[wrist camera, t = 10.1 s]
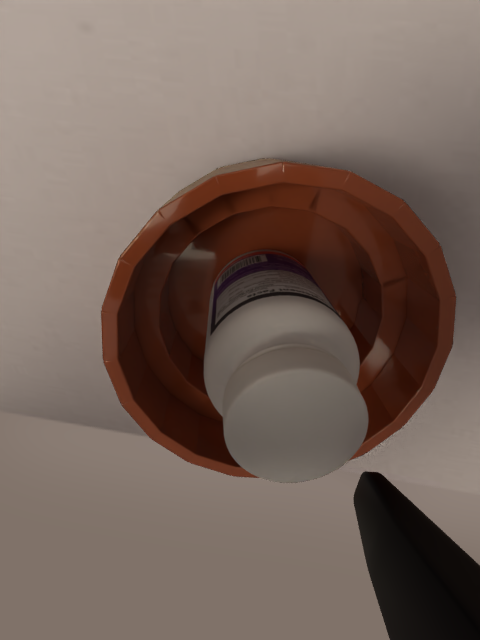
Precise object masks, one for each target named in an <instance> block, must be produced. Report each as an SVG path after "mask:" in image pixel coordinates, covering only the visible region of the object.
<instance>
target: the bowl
mask: <svg viewBox="0 0 480 640" xmlns="http://www.w3.org/2000/svg"><path fill="white" fill-rule="evenodd" d="M255 250H275V251H280V252H283V253H286V254H288V255H290V256H292V257H294V258H295V259H296V260H298V261H299V262H300V263H301V264H302V265H303V266H304V267H305V268H306V269H307V270H308V271H309V273H310V274H311V276H312V277H313V279H314V280H315V282H316V283H317V284H318V286H319V287H320V289H321V290H322V292H323V293H324V294H325V296H326V297H327V299H328V300H329V301H330V303H331V304H332V306H333V307H334V308H335V310H336V311H337V313H338V314H339V315H340V317H341V318H342V320H343V321H344V323H345V324H346V325H347V327H348V329H349V330H350V332H351V334H352V336H353V338H354V340H355V342H356V345H357V348H358V353H359V360H360V369H359V376H358V380H357V384H356V385H357V387H358V389H359V391H360V393H361V395H362V397H363V399H364V401H365V403H366V406H367V411H368V429H367V433H366V436H365V438H364V441H363V443H362V445H361V446H360V448H359V449H358V450H357V452H356V453H355V454H354V455H353V457H352V458H351V459H350V460H352V459H354V458H356V457H359V456H361V455H364V453H367V452H369V451H370V450H371V449H373V448H374V447H375V446H377V445H378V444H380V443H381V442H382V441H384V440H385V439H387V438H388V437H389V436H391V435H392V434H394V433H395V432H396V431H398V430H399V429H401V428H402V426H404V425H405V424H406V423H407V422H408V420H409V419H410V418H411V417H412V415H413V414H414V413H415V412H416V411H417V409H418V408H419V407H420V406H421V405H422V403H423V402H424V401H425V400H426V399H427V397H428V396H429V395H430V394H431V393H432V391H433V389H434V388H435V386H436V384H437V381H438V379H439V376H440V374H441V372H442V369H443V367H444V365H445V362H446V360H447V358H448V355H449V353H450V351H451V348H452V345H453V335H454V321H455V307H456V296H455V295H456V294H455V290H454V287H453V284H452V281H451V277H450V274H449V271H448V268H447V264H446V261H445V258H444V255H443V251H442V248H441V246H440V244H439V242H438V241H437V240H436V239H435V237H434V236H433V235H432V234H431V233H430V231H429V230H428V229H427V228H426V226H425V225H424V224H423V223H422V222H421V220H420V219H419V218H418V217H417V216H416V214H415V213H414V212H413V211H412V209H411V208H410V207H409V206H408V205H407V203H406V202H404V200H402V199H401V198H399V197H397V196H395V195H393V194H391V193H390V192H388V191H386V190H384V189H382V188H380V187H379V186H377V185H375V184H373V183H371V182H369V181H368V180H366V179H364V178H362V177H360V176H358V175H357V174H355V173H353V172H351V171H347V170H343V169H337V168H331V167H325V166H320V165H314V164H307V163H300V162H293V161H286V160H279V159H272V158H266V159H265V158H262V159H257V160H252V161H247V162H242V163H238V164H233V165H228V166H223V167H220V168H217V169H215V170H213V171H212V172H210V173H208V174H207V175H205V176H203V177H202V178H200V179H198V180H197V181H195V182H193V183H192V184H190V185H188V186H187V187H185V188H183V189H182V190H180V191H179V192H178V193H176V194H175V195H174V196H173V197H172V198H171V199H170V200H169V201H167V202H166V203H165V204H164V205H163V206H162V207H161V208H160V209H159V210H157V211H156V212H155V214H154V215H153V216H152V217H151V219H150V220H149V221H148V222H147V223H146V225H145V226H144V227H143V228H142V230H141V231H140V232H139V233H138V234H137V236H136V237H135V238H134V239H133V241H132V242H131V243H130V244H129V245H128V247H127V248H126V249H125V250H124V252H123V253H122V254H121V255H120V258H119V259H118V261H117V264H116V267H115V270H114V273H113V276H112V279H111V282H110V285H109V288H108V291H107V294H106V297H105V300H104V302H103V305H102V311H101V322H102V349H103V360H104V364H105V367H106V369H107V372H108V374H109V376H110V379H111V381H112V384H113V386H114V389H115V391H116V393H117V396H118V398H119V401H120V403H121V405H122V406H123V408H124V409H125V410H126V411H127V412H128V413H129V414H130V416H131V417H132V418H133V419H134V420H135V421H136V422H137V424H138V425H139V426H140V427H141V428H142V429H143V430H144V432H145V433H146V434H147V435H148V436H149V437H150V438H151V439H152V440H154V441H155V442H157V443H158V444H160V445H162V446H163V447H165V448H166V449H168V450H169V451H171V452H173V453H174V454H176V455H177V456H179V457H181V458H182V459H184V460H185V461H187V462H190V463H192V464H195V465H198V466H202V467H205V468H208V469H211V470H214V471H218V472H221V473H224V474H227V475H230V476H231V475H232V476H237V477H253V478H259V477H257V476H255V475H253V474H251V473H249V472H248V471H246V470H245V469H243V468H242V467H241V466H240V465H239V464H238V463H237V462H236V461H235V460H234V459H233V457H232V456H231V454H230V452H229V450H228V448H227V446H226V442H225V438H224V429H223V416H221V414H220V413H219V412H218V411H217V410H216V408H215V407H214V405H213V404H212V402H211V400H210V398H209V396H208V393H207V390H206V386H205V382H204V353H205V344H206V334H207V324H208V313H209V303H210V296H211V290H212V287H213V284H214V282H215V280H216V278H217V276H218V274H219V273H220V272H221V270H222V269H223V268H224V267H225V266H226V265H227V264H228V263H229V262H230V261H232V260H233V259H234V258H236V257H238V256H240V255H242V254H244V253H247V252H250V251H255Z"/></svg>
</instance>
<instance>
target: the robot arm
mask: <svg viewBox="0 0 480 640" xmlns="http://www.w3.org/2000/svg"><path fill="white" fill-rule="evenodd" d="M354 506H355V510H356V516H357V520H358V525H359V530H360V535H361V539H362V544H363V549H364V554H365V558H366V562H367V567H368V571H369V574H370V577H371V581H372V584H373V587H374V590H375V593H376V597H377V600H378V603H379V606H380V609H381V613H382V616H383V619H384V622H385V625H386V629H387V632H388V635H389V638H390V640H480V565H478V564H477V563H476V562H475V561H474V560H473V559H472V558H471V557H470V556H469V555H468V554H467V553H466V552H465V551H463V550H462V549H461V548H460V547H459V546H458V545H457V544H456V543H455V542H454V541H453V540H452V539H451V538H450V537H449V536H447V535H446V534H445V533H444V532H443V531H442V530H441V529H440V528H439V527H438V526H437V525H436V524H435V523H433V522H432V521H431V520H430V519H429V518H428V517H427V516H426V515H425V514H424V513H423V512H422V511H421V510H419V509H418V508H417V507H416V506H415V505H414V504H413V503H412V502H411V501H410V500H409V499H408V498H407V497H405V496H404V495H403V494H402V493H401V492H400V491H399V490H398V489H397V488H396V487H395V486H394V485H392V484H391V483H390V482H389V481H388V480H387V479H386V478H385V477H384V476H383V475H382V474H380V473H378V472H363V473H362V475H361V477H360V480H359V482H358V485H357V488H356V490H355V494H354Z"/></svg>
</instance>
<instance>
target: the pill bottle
mask: <svg viewBox="0 0 480 640" xmlns="http://www.w3.org/2000/svg"><path fill="white" fill-rule="evenodd" d="M359 369H360V360H359V353H358V348H357V345H356V342H355V340H354V338H353V336H352V334H351V332H350V330H349V329H348V327H347V325H346V324H345V323H344V321H343V320H342V318H341V317H340V315H339V314H338V313H337V311H336V310H335V308H334V307H333V306H332V304H331V303H330V301H329V300H328V299H327V297H326V296H325V294H324V293H323V292H322V290H321V289H320V287H319V286H318V284H317V283H316V282H315V280H314V279H313V277H312V276H311V274H310V273H309V271H308V270H307V269H306V268H305V267H304V266H303V265H302V264H301V263H300V262H299V261H298V260H296V259H295V258H294V257H292V256H290V255H288V254H286V253H283V252H280V251H275V250H255V251H250V252H247V253H244V254H242V255H240V256H238V257H236V258H234V259H233V260H232V261H230V262H229V263H228V264H227V265H226V266H225V267H224V268H223V269H222V270H221V272H220V273H219V274H218V276H217V278H216V280H215V282H214V284H213V287H212V290H211V296H210V303H209V313H208V324H207V334H206V344H205V353H204V382H205V386H206V390H207V393H208V396H209V398H210V400H211V402H212V404H213V405H214V407H215V408H216V410H217V411H218V412H219V413H220V414H221V416H223V429H224V438H225V442H226V446H227V448H228V450H229V452H230V454H231V456H232V457H233V459H234V460H235V461H236V462H237V463H238V464H239V465H240V466H241V467H242V468H243V469H245V470H246V471H248V472H249V473H251V474H253V475H255V476H257V477H259V478H262V479H266V480H269V481H275V482H280V483H297V482H304V481H309V480H313V479H317V478H320V477H323V476H325V475H327V474H329V473H331V472H333V471H335V470H337V469H338V468H340V467H341V466H343V465H344V464H345V463H346V462H347V461H349V460H350V459H351V458H352V457H353V455H354V454H355V453H356V452H357V450H358V449H359V448H360V446H361V445H362V443H363V441H364V438H365V436H366V433H367V429H368V411H367V406H366V403H365V401H364V399H363V397H362V395H361V393H360V391H359V389H358V387H357V385H356V384H357V380H358V376H359Z"/></svg>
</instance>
